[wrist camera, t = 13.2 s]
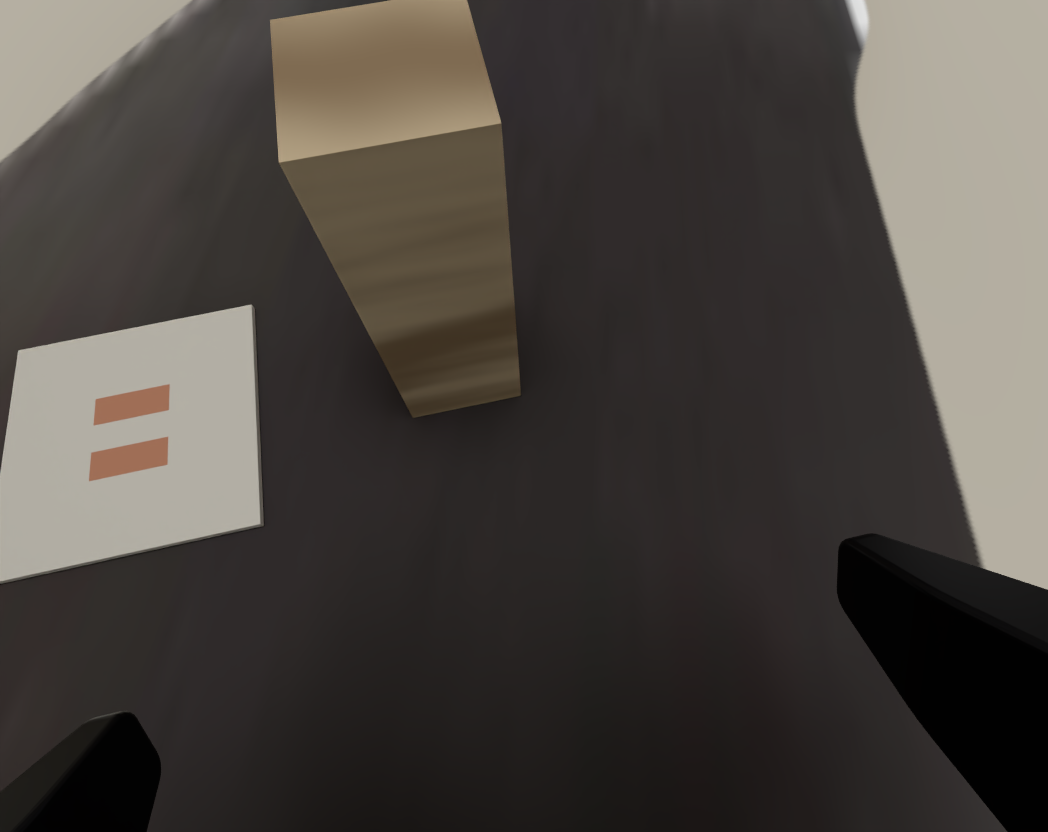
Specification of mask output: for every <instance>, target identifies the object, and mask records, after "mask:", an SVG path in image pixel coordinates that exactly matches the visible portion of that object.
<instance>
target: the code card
mask: <svg viewBox="0 0 1048 832" xmlns="http://www.w3.org/2000/svg"><path fill="white" fill-rule="evenodd" d="M261 526H264V517H263V493H262V469H261V445H260V421H259V397H258V373H257V349H256V326H255V308H254V307H253V306H252V305H247V306H242V307H237V308H232V309H227V310H222V311H217V312H212V313H207V314H202V315H197V316H191V317H186V318H181V319H176V320H171V321H166V322H161V323H156V324H151V325H146V326H141V327H136V328H131V329H125V330H120V331H115V332H110V333H105V334H100V335H95V336H90V337H85V338H80V339H75V340H70V341H65V342H59V343H54V344H49V345H44V346H39V347H34V348H29V349H24V350H19V351H18V357H17V364H16V371H15V377H14V384H13V391H12V398H11V404H10V411H9V418H8V425H7V431H6V438H5V445H4V452H3V459H2V465H1V472H0V584H2V583H7V582H11V581H16V580H21V579H25V578H30V577H34V576H39V575H43V574H48V573H52V572H57V571H61V570H66V569H70V568H75V567H79V566H84V565H89V564H93V563H98V562H102V561H107V560H111V559H116V558H120V557H125V556H129V555H134V554H138V553H143V552H147V551H152V550H156V549H161V548H166V547H170V546H175V545H179V544H184V543H188V542H193V541H197V540H202V539H206V538H211V537H215V536H220V535H224V534H229V533H234V532H238V531H243V530H247V529H252V528H256V527H261Z"/></svg>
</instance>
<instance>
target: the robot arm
mask: <svg viewBox="0 0 1048 832" xmlns="http://www.w3.org/2000/svg"><path fill="white" fill-rule="evenodd" d="M837 594H838V599H839V602H840V604H841V606H842V608H843V610H844V612H845V613H846V615H847V616H848V618H849V619H850V621H851V622H852V624H853V625H854V627H855V628H856V630H857V631H858V632H859V634H860V635H861V637H862V638H863V640H864V641H865V643H866V644H867V646H868V647H869V649H870V650H871V652H872V653H873V655H874V656H875V658H876V659H877V661H878V662H879V664H880V665H881V667H882V668H883V670H884V671H885V673H886V674H887V676H888V677H889V679H890V680H891V682H892V683H893V685H894V686H895V688H896V689H897V691H898V692H899V694H900V695H901V697H902V698H903V700H904V701H905V703H906V704H907V705H908V707H909V708H910V710H911V711H912V713H913V714H914V715H915V717H916V718H917V720H918V721H919V722H920V723H921V725H922V726H923V727H924V729H925V730H926V731H927V732H928V734H929V735H930V736H931V738H932V739H933V740H934V741H935V743H936V744H937V745H938V746H939V747H940V749H941V750H942V751H943V752H944V754H945V755H946V756H947V757H948V759H949V760H950V761H951V762H952V764H953V765H954V766H955V767H956V768H957V770H958V771H959V772H960V773H961V775H962V776H963V777H964V778H965V780H966V781H967V782H968V783H969V785H970V786H971V787H972V788H973V790H974V791H975V792H976V793H977V794H978V796H979V797H980V798H981V799H982V801H983V802H984V803H985V804H986V806H987V807H988V808H989V809H990V811H991V812H992V813H993V814H994V815H995V817H996V818H997V819H998V820H999V822H1000V823H1001V824H1002V825H1003V827H1004V828H1005V829H1006V830H1007V832H1048V590H1047V589H1044V588H1041V587H1037V586H1034V585H1031V584H1029V583H1025V582H1022V581H1019V580H1016V579H1013V578H1010V577H1007V576H1004V575H1001V574H998V573H995V572H992V571H989V570H986V569H983V568H980V567H977V566H973V565H970V564H967V563H964V562H961V561H958V560H955V559H952V558H949V557H946V556H943V555H940V554H937V553H934V552H931V551H928V550H925V549H921V548H918V547H915V546H912V545H909V544H906V543H903V542H900V541H897V540H894V539H891V538H888V537H885V536H882V535H879V534H873V533H871V534H865V535H860V536H856V537H852V538H848V539H845V540H844V541H842V542H841V544H840V546H839V550H838V572H837ZM160 776H161V762H160V758H159V755H158V753H157V751H156V749H155V748H154V746H153V744H152V743H151V741H150V739H149V738H148V736H147V734H146V733H145V731H144V729H143V728H142V726H141V724H140V723H139V721H138V719H137V718H136V716H135V715H134V714H132V713H130V712H128V711H120V712H115V713H111V714H107V715H103V716H99V717H95V718H92V719H90V720H88V721H86V722H85V723H84V724H82V725H81V726H80V727H79V728H78V729H76V730H75V731H74V732H73V733H71V734H70V735H69V736H68V737H67V738H65V739H64V740H63V741H62V742H60V743H59V744H58V745H57V746H56V747H54V748H53V749H52V750H51V751H50V752H48V753H47V754H46V755H45V756H43V757H42V758H41V759H40V760H39V761H37V762H36V763H35V764H34V765H32V766H31V767H30V768H29V769H28V770H26V771H25V772H24V773H23V774H22V775H20V776H19V777H18V778H17V779H15V780H14V781H13V782H12V783H11V784H9V785H8V786H7V787H6V788H4V789H3V790H2V791H1V792H0V832H147V828H148V824H149V820H150V816H151V812H152V808H153V804H154V801H155V797H156V793H157V789H158V785H159V781H160Z"/></svg>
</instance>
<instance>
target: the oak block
mask: <svg viewBox="0 0 1048 832" xmlns="http://www.w3.org/2000/svg"><path fill="white" fill-rule="evenodd" d="M270 25H271V42H272V58H273V74H274V91H275V107H276V123H277V140H278V156H279V164H280V166H281V168H282V170H283V171H284V173H285V175H286V177H287V179H288V181H289V183H290V185H291V187H292V189H293V190H294V192H295V194H296V196H297V198H298V200H299V202H300V204H301V206H302V208H303V210H304V211H305V213H306V215H307V217H308V219H309V221H310V223H311V225H312V227H313V229H314V230H315V232H316V234H317V236H318V238H319V240H320V242H321V244H322V246H323V248H324V250H325V251H326V253H327V255H328V257H329V259H330V261H331V263H332V265H333V267H334V269H335V271H336V272H337V274H338V276H339V278H340V280H341V282H342V284H343V286H344V288H345V290H346V291H347V293H348V295H349V297H350V299H351V301H352V303H353V305H354V307H355V309H356V311H357V312H358V314H359V316H360V318H361V320H362V322H363V324H364V326H365V328H366V330H367V331H368V333H369V335H370V337H371V339H372V341H373V343H374V345H375V347H376V349H377V351H378V352H379V354H380V356H381V358H382V360H383V362H384V364H385V366H386V368H387V370H388V371H389V373H390V375H391V377H392V379H393V381H394V383H395V385H396V387H397V389H398V391H399V392H400V394H401V396H402V398H403V400H404V402H405V404H406V406H407V408H408V410H409V412H410V413H411V415H412V417H413V418H415V417H420V416H425V415H430V414H435V413H439V412H444V411H449V410H454V409H459V408H464V407H469V406H473V405H478V404H483V403H488V402H493V401H498V400H502V399H507V398H512V397H517V396H521V388H520V374H519V361H518V347H517V333H516V319H515V306H514V292H513V278H512V264H511V250H510V237H509V223H508V209H507V195H506V182H505V168H504V154H503V140H502V127H501V121H500V117H499V113H498V110H497V106H496V103H495V99H494V96H493V92H492V88H491V85H490V81H489V78H488V74H487V70H486V67H485V63H484V60H483V56H482V53H481V49H480V45H479V42H478V38H477V35H476V31H475V28H474V24H473V20H472V17H471V13H470V10H469V6H468V2H467V0H391V1H384V2H378V3H372V4H366V5H360V6H354V7H347V8H341V9H335V10H329V11H323V12H317V13H311V14H304V15H298V16H292V17H286V18H280V19H274V20H270Z"/></svg>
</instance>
